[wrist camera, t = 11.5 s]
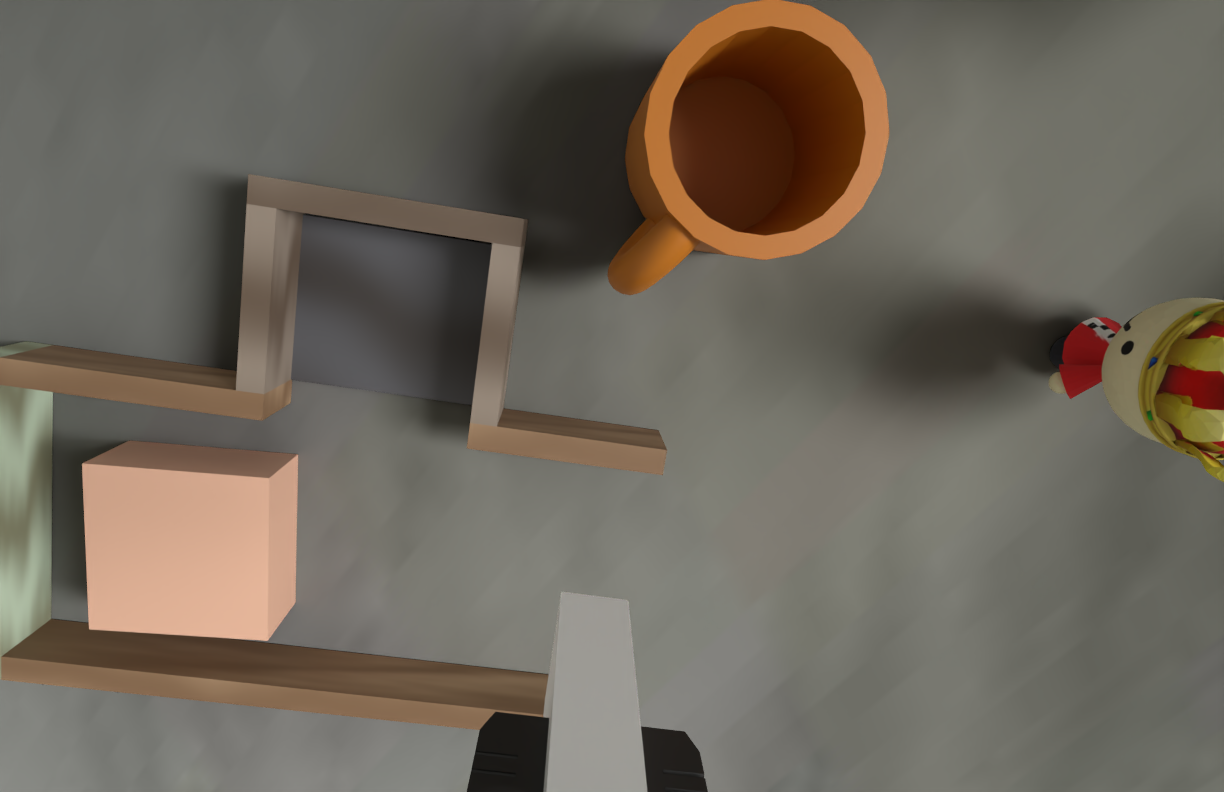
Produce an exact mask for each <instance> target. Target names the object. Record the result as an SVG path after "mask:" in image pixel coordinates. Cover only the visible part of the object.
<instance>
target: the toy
mask: <svg viewBox="0 0 1224 792" xmlns="http://www.w3.org/2000/svg"><path fill="white" fill-rule="evenodd" d="M1050 360H1051V362H1052V363H1053V364H1054V365H1055V366H1056V367H1057V368H1059V369H1060V372H1056V373H1054V374H1053V375H1051V377H1050V378H1049V387H1050V388H1051V390H1053V391H1054V392H1056V393H1061V394H1063V393H1066V392H1067V394H1068V396H1069V398H1070V399H1071V398H1073V397H1075V396H1077V395H1078V394H1080V393H1082V392H1084V391H1085V390H1087V389H1089V388H1091V387H1093V386H1094V385H1096V384H1098V383H1100V382H1102V383H1103V389H1104V392H1105V395H1106V398H1107V400H1108V402H1109V404H1110V406H1111V407H1112V409H1113V411H1114V412H1115V413H1116V414H1117V416H1118V417H1119V418H1120V419H1121V420H1122V421H1123V422H1124V423H1125V424H1126V425H1128V426H1129V427H1130V428H1132V429H1133V430H1135V431H1136V432H1138V433H1139V434H1141V435H1143V436H1145V437H1147V438H1149V439H1151V440H1154V441H1157V442H1160V443H1163V444H1164V445H1166V446H1167V447H1169V448H1171V449H1173V450H1175V451H1177V452H1180V453H1183V454H1186V455H1188V456H1191V457H1194V458H1198V459H1199V460H1200V461H1201V462H1202V464H1203V466H1204V468H1205V469H1206V471H1207V472H1208V473H1209V474H1211V475H1212V476H1213V477H1215V478H1217V479H1219V480H1221V481H1222V482H1224V466H1223V465H1222V464H1221V463H1220V462H1219V461H1218V460H1224V301H1223V300H1218V299H1213V298H1184V299H1176V300H1172V301H1168V302H1165V303H1161V304H1158V305H1155V306H1153V307H1150V308H1148V309H1146V310H1145V311H1143V312H1141V313H1139V314H1138V315H1136V316H1135V317H1133V318H1132V319H1130V320H1129V321H1128V322H1127V323H1126V324H1125V325H1124V326H1123V327H1121V326H1120V324H1119V323H1117V322H1115V321H1113V320H1111V319H1108V318H1097V317H1093V318H1090V319H1088V320H1086V321H1083V322H1081V323H1080V324H1079V325H1078V326H1077V327H1076V328H1074V329H1073V330H1072V331H1071V332H1070V334H1069V336H1067V337H1062V338H1060V339H1059V340H1057V341H1056V342H1055V343H1054V345H1053V346H1052V347H1051V351H1050Z"/></svg>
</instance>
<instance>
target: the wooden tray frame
mask: <svg viewBox="0 0 1224 792" xmlns="http://www.w3.org/2000/svg"><path fill="white" fill-rule="evenodd" d="M304 213H308V214H314V215H320V216H327V217H333V218H339V219H345V220H352V221H358V222H364V223H371V224H377V225H383V226H389V227H396V228H402V229H408V230H415V231H421V232H427V233H433V234H440V235H446V236H452V237H459V238H465V239H471V240H477V241H484V242H490V243H492V244H486V243H479V242H473V241H467V240H461V239H454V238H448V237H442V236H435V235H429V234H423V233H417V232H410V231H404V230H398V229H391V228H385V227H379V226H373V225H366V224H360V223H354V222H347V221H341V220H335V219H329V218H322V217H316V216H310V215H304ZM527 227H528V219H522V218H516V217H509V216H503V215H497V214H491V213H485V212H479V211H472V210H466V209H460V208H454V207H448V206H442V205H435V204H429V203H423V202H417V201H411V200H405V199H399V198H392V197H386V196H380V195H374V194H368V193H362V192H355V191H349V190H343V189H337V188H331V187H325V186H318V185H312V184H306V183H300V182H294V181H288V180H282V179H275V178H269V177H263V176H257V175H251V174H248V189H247V206H246V223H245V241H244V258H243V275H242V292H241V310H240V327H239V344H238V361H237V371H233V370H226V369H219V368H212V367H205V366H198V365H191V364H184V363H177V362H170V361H163V360H155V359H148V358H141V357H134V356H127V355H120V354H113V353H106V352H99V351H92V350H84V349H77V348H70V347H63V346H56V345H49V344H42V343H35V342H28V341H25V342H21V343H16V344H11V345H6V346H2V347H0V680H9V681H18V682H28V683H37V684H47V685H56V686H66V687H75V688H85V689H94V690H104V691H114V692H123V693H133V694H142V695H152V696H161V697H171V698H180V699H190V700H199V701H209V702H218V703H228V704H238V705H247V706H257V707H266V708H276V709H285V710H295V711H304V712H314V713H323V714H333V715H342V716H352V717H362V718H371V719H381V720H390V721H400V722H409V723H419V724H428V725H438V726H447V727H457V728H466V729H476V730H480V729H481V727H482V726H483V725H484V724H485V723H486V722H487V721H488V719H489V718H490V717H491V716H492V715H493V714H494V713H495V712H503V713H511V714H520V715H529V716H537V717H543V715H544V704H545V695H546V689H547V682H548V676H549V675H548V674H539V673H530V672H521V671H512V670H503V669H494V668H485V667H476V666H467V665H458V664H449V663H440V662H431V661H422V660H413V659H405V658H396V657H387V656H378V655H369V654H360V653H351V652H342V651H333V650H324V649H315V648H306V647H297V646H288V645H279V644H270V643H261V642H253V641H244V640H235V639H226V638H217V637H201V636H186V635H170V634H154V633H138V632H123V631H107V630H91V629H89V623H83V622H74V621H65V620H56V619H51V566H52V433H53V392H56V393H63V394H70V395H78V396H85V397H92V398H100V399H107V400H115V401H122V402H129V403H137V404H144V405H151V406H159V407H166V408H173V409H181V410H188V411H196V412H203V413H210V414H218V415H225V416H232V417H240V418H247V419H254V420H264V419H266V418H267V417H269V416H270V415H272V414H274V413H275V412H277V411H278V410H280V409H281V408H283V407H285V406H286V405H288V404H289V403H291V390H292V380H297V381H304V382H311V383H319V384H326V385H333V386H340V387H347V388H354V389H361V390H368V391H375V392H382V393H390V394H397V395H404V396H411V397H418V398H425V399H432V400H439V401H446V402H454V403H461V404H468V405H472V411H471V419H470V427H469V435H468V443H467V448H468V449H475V450H482V451H490V452H497V453H505V454H512V455H519V456H527V457H534V458H541V459H549V460H556V461H563V462H571V463H578V464H585V465H593V466H600V467H608V468H615V469H622V470H630V471H637V472H644V473H652V474H659V475H663V470H664V465H665V459H666V453H667V449H666V447H665V444H664V442H663V440H662V437H661V435H660V433H659V430H652V429H645V428H638V427H631V426H624V425H617V424H610V423H603V422H595V421H588V420H581V419H574V418H567V417H560V416H553V415H546V414H539V413H532V412H524V411H517V410H510V409H503V408H504V401H505V393H506V386H507V378H508V371H509V363H510V355H511V348H512V340H513V333H514V325H515V318H516V310H517V303H518V295H519V288H520V280H521V273H522V265H523V258H524V250H525V243H526V235H527Z"/></svg>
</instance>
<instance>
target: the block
mask: <svg viewBox="0 0 1224 792" xmlns="http://www.w3.org/2000/svg"><path fill="white" fill-rule="evenodd" d="M82 476H83V500H84V523H85V546H86V570H87V593H88V616H89V629H91V630H107V631H123V632H138V633H154V634H170V635H186V636H201V637H217V638H233V639H249V640H264V641H268V639H269V638H270V637H271V635H272V634H273V633H274V631H275V630H276V628H277V627H278V626H279V624H280V623H281V622H282V620H283V619H284V618H285V616H286V615H287V613H288V612H289V611H290V609H291V608H292V607H293V605H294V604H295V593H296V537H297V482H298V454H289V453H276V452H264V451H252V450H240V449H227V448H215V447H203V446H191V445H179V444H166V443H154V442H142V441H130V440H129V441H127V442H125V443H123V444H121V445H119V446H117V447H115V448H113V449H111V450H109V451H107V452H105V453H103V454H100V455H98V456H96V457H94V458H92V459H90V460H88V461H86V462H84V463H82Z"/></svg>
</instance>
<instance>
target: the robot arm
mask: <svg viewBox="0 0 1224 792" xmlns="http://www.w3.org/2000/svg"><path fill="white" fill-rule="evenodd" d="M467 792H708V791H707V786H706V781H705V778H704V771H703V766H702V761H701V756H700V752H699V751H698V749H697V748H696V746H695V745H694V744H693V742H692V741H691V740H690V738H689V737H688V735H687V734H686V733H685V732H684V731H675V730H666V729H658V728H649V727H641V722H640V712H639V702H638V692H637V682H636V672H635V662H634V652H633V642H632V632H631V622H630V612H629V601H628V600H623V599H615V598H608V597H600V596H592V595H584V594H576V593H568V592H561V597H560V603H559V610H558V617H557V623H556V630H555V636H554V643H553V649H552V656H551V663H550V669H549V676H548V682H547V689H546V695H545V704H544V715H543V717H537V716H529V715H520V714H511V713H503V712H495V713H494V714H493V715H492V716H491V717H490V718H489V719H488V721H487V722H486V723H485V724H484V725H483V726H482V727H481V729H480V732H479V737H478V742H477V746H476V751H475V756H474V760H473V765H472V771H471V775H470V779H469V784H468V789H467Z"/></svg>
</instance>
